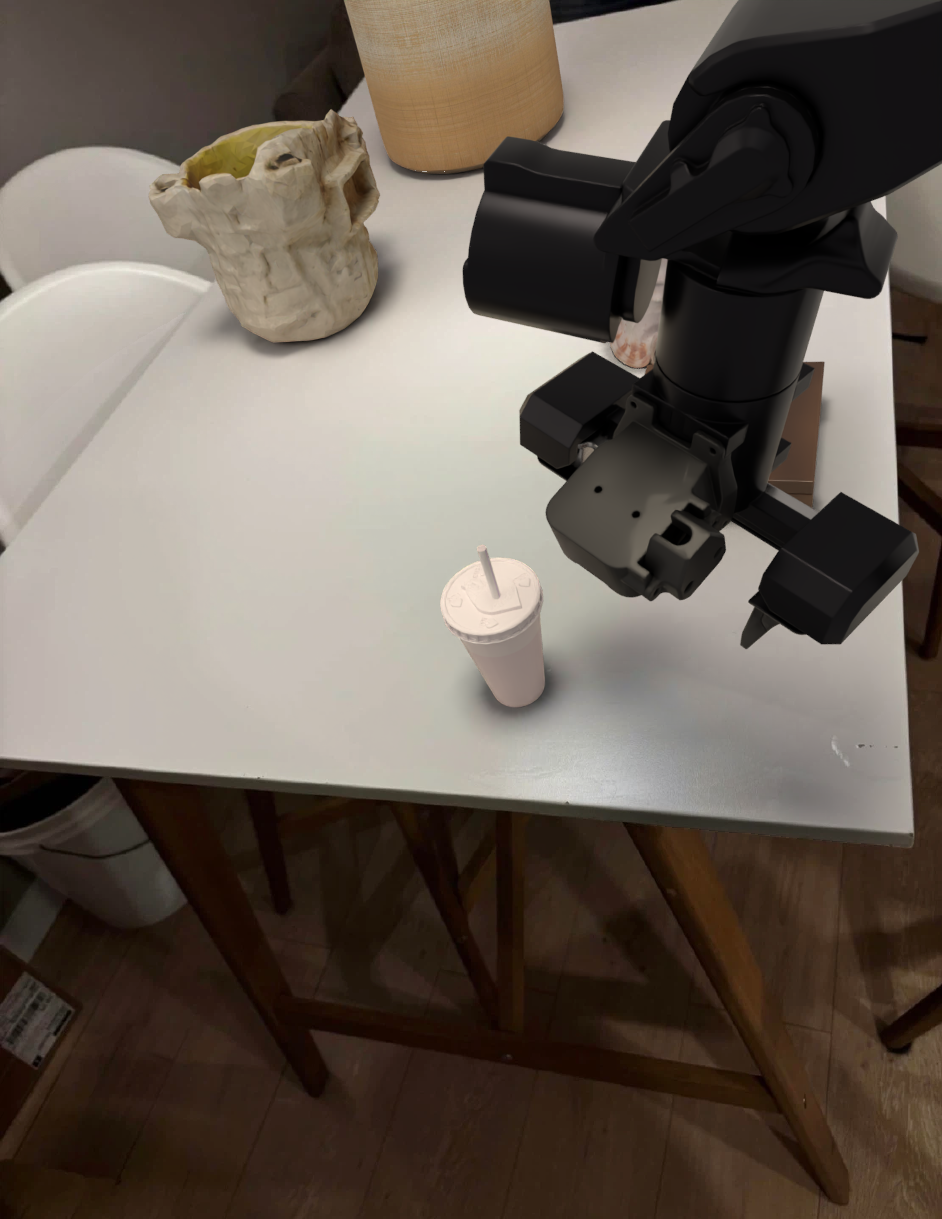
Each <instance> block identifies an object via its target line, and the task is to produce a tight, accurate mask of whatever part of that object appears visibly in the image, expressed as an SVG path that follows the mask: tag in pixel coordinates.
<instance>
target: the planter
mask: <svg viewBox="0 0 942 1219" xmlns="http://www.w3.org/2000/svg"><path fill="white" fill-rule="evenodd" d="M343 3H344V6H345V9H346V12H347V17H348V20H349V23H350V26H351V31H352V35H353V38H354V41H355V46H356V48H357V52H358V56H359V60H360V64H361V67H362V70H363V74H364V78H365V81H366V84H367V89H368V92H369V97H370V100H371V104H372V107H373V112H374V115H375V119H376V122H377V126H378V129H379V133H380V137H381V141H382V144H383V147H384V149H385V151H386V154H387V156H388V158H389V159H390V160H391V161H392V162H393V163H395V164H396V165H397V166H399V167H402V168H403V169H406V170H410V171H413V172H416V173H421V174H428V175H447V174H456V173H457V174H458V173H464V172H470V171H474V170H479V169H483V164H484V163H485V161H486V160H487V159H488V158H489V157H490V155H491V154H492V153H493V152H494V151H495V149H496V148H497V147H498V146H499V145H500V143H501V142H502V141H503V140H504V139H505V138H506V137H507V136H509V137H516V138H522V139H528V140H533V141H537V142H539V143H540V141H541V140H543V139H544V138H545V137H546V136H547V135H548V134H549V133H550V131H551V130H552V129H553V128H554V127H555V126H556V124H557V123H558V122H559V121H560V119H561V117H562V116H563V112H564V107H565V101H564V100H565V98H564V97H565V96H564V89H563V88H564V87H563V81H562V74H561V69H560V62H559V56H558V48H557V43H556V37H555V36H556V35H555V30H554V23H553V17H552V10H551V4H550V0H343ZM415 170H416V171H415ZM422 171H427V172H422ZM444 171H445V172H444Z"/></svg>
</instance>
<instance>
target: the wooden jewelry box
mask: <svg viewBox="0 0 942 1219" xmlns="http://www.w3.org/2000/svg"><path fill="white" fill-rule="evenodd" d="M803 362H804V363H806V364H808V365H810V366H812V367H814V368H815V369H814V373H813V376H812V379H811V382H810V386H809V388H808V389H807V390H805V391H804V392H803V393H802V394H801V395H799V396H798V397H797V398H796V399H795V400H793V401H792V402H791V405H790V408H789V412H788V415H787V419H786V422H785V425H784V429H783V432H782V436H781V437H782V438H784V439H785V440H787V441H789V442H791V443H792V444H791V447H790V450H789V453H788V457H787V459H786V460H785V461H784V462H783V463H782V464H781V465H780V466H778V467H777V468H776V469H775V470H774V471H773V472H772V473H770V476H769V480H768V483H770V484H771V485H773V486H775V487H777V488H778V489H780V490H782V491H783V492H785V493H787V494H789V495H790V496H792V497H794V498H795V499H797V500H799V501H801V502H802V503H804V504H806V505H807V506H809V507H811V508H812V509H813V503H814V492H815V481H816V480H815V479H816V467H817V457H818V444H819V433H820V422H821V412H822V398H823V388H824V387H823V385H824V376H825V375H824V374H825V365H826V364H825V363H826V362H825V361H803ZM653 366H654V364H648V365H647V366H646V367H645V372H644V375H645V374H646V373H648V372H649V371H650V370H652V369H653Z"/></svg>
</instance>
